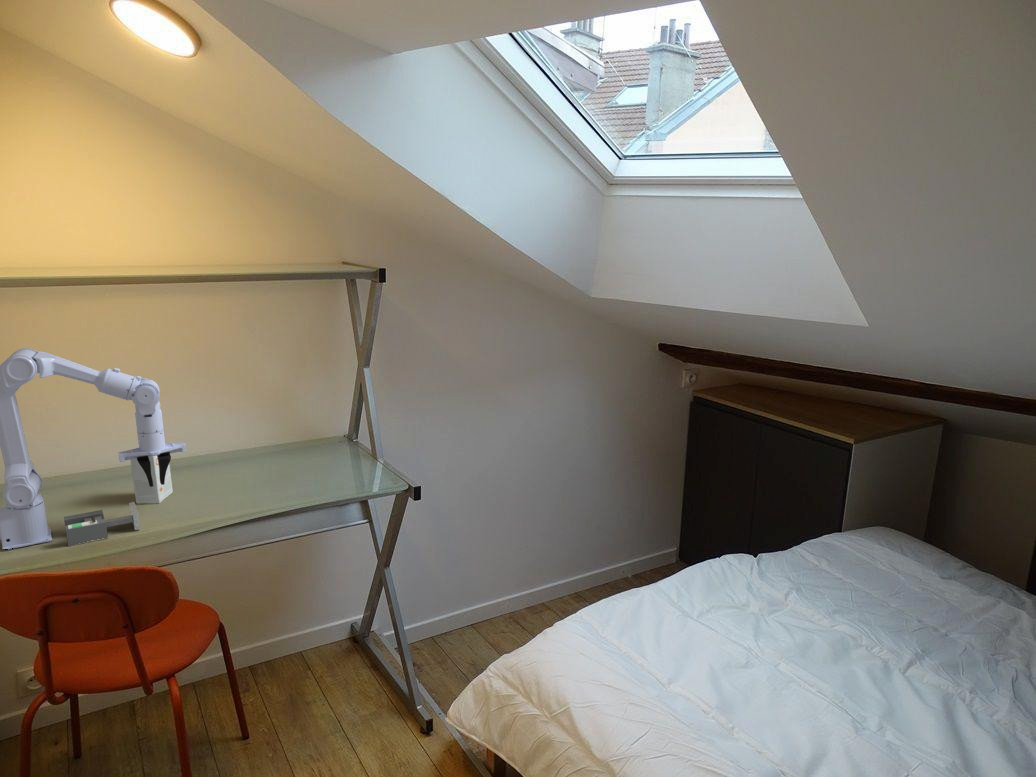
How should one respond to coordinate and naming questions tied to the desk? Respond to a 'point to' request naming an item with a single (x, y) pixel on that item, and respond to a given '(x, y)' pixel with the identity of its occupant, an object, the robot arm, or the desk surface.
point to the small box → (142, 485)
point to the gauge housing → (84, 528)
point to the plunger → (121, 518)
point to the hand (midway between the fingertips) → (156, 484)
